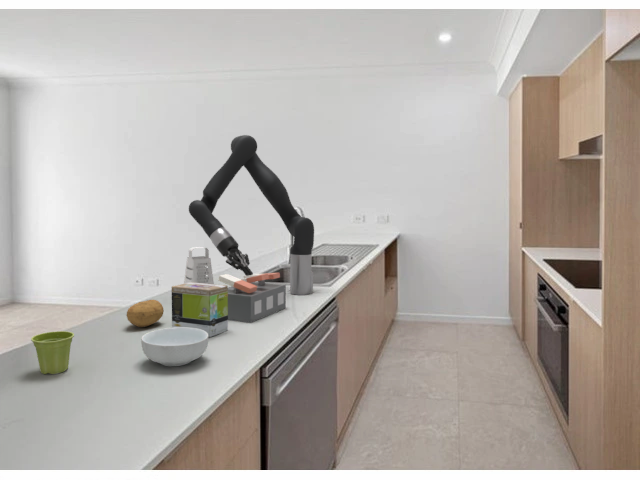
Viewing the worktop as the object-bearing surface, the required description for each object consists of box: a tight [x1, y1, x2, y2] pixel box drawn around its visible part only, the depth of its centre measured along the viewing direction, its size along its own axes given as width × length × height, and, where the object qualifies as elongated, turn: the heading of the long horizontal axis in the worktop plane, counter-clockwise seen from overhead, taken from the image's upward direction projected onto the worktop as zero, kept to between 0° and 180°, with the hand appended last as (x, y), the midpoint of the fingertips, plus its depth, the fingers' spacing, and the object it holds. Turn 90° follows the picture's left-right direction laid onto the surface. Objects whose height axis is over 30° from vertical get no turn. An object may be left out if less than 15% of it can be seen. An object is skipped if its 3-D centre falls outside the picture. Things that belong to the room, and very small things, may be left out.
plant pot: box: [30, 330, 75, 375], centre depth 131 cm, size 9×9×9 cm
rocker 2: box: [240, 273, 269, 283], centre depth 194 cm, size 5×13×2 cm, turn 66°
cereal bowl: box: [140, 327, 209, 367], centre depth 139 cm, size 17×17×7 cm
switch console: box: [228, 280, 287, 323], centre depth 197 cm, size 31×16×11 cm, turn 156°
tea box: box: [171, 282, 229, 338], centre depth 168 cm, size 15×10×15 cm, turn 65°
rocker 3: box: [243, 272, 281, 281], centre depth 201 cm, size 5×13×2 cm, turn 66°
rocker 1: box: [218, 273, 257, 293], centre depth 186 cm, size 5×13×2 cm, turn 66°
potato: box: [125, 299, 165, 328], centre depth 174 cm, size 10×14×8 cm
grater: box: [183, 246, 215, 284], centre depth 226 cm, size 10×10×20 cm
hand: (250, 275), depth 203 cm, fingers closed
